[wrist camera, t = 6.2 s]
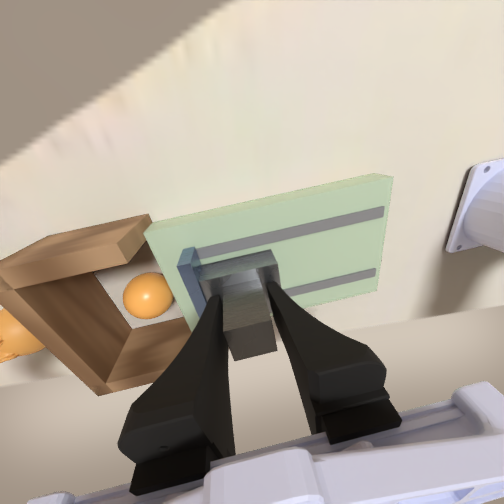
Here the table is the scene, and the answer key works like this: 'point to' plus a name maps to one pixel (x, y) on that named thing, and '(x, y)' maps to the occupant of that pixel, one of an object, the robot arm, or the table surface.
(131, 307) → the ball
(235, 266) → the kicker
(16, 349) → the figurine
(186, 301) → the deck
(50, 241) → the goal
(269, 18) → the table surface
